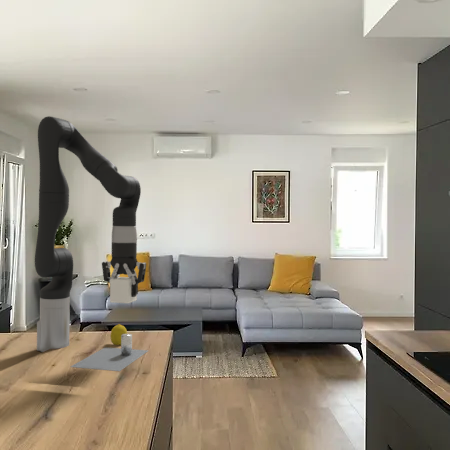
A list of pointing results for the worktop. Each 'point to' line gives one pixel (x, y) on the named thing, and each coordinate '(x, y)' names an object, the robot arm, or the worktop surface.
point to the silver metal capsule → (126, 344)
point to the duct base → (109, 359)
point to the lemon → (117, 334)
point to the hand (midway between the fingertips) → (123, 295)
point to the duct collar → (121, 290)
